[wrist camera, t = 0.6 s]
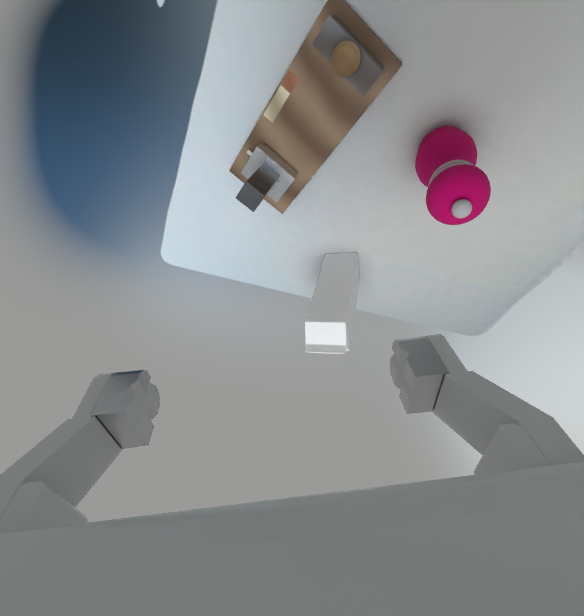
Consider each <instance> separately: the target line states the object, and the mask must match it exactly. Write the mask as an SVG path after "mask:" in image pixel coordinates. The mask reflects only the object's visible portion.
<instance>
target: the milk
mask: <svg viewBox="0 0 584 616" xmlns="http://www.w3.org/2000/svg"><path fill="white" fill-rule="evenodd" d="M358 285H359V267H358V255H357V253H336V254H325V257H324V261H323V264H322V267H321V271H320V274H319V277H318V281H317V284H316V287H315V291H314V294H313V297H312V301H311V304H310V308H309V311H308V314H307V317H306V321H305V334H306V346H305V349H304V350H305V352H311V353H312V352H313V353H334V354H344V353H345V351H349V349H350V342H351V335H352V327H353V320H354V314H355V307H356V300H357V292H358Z"/></svg>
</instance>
